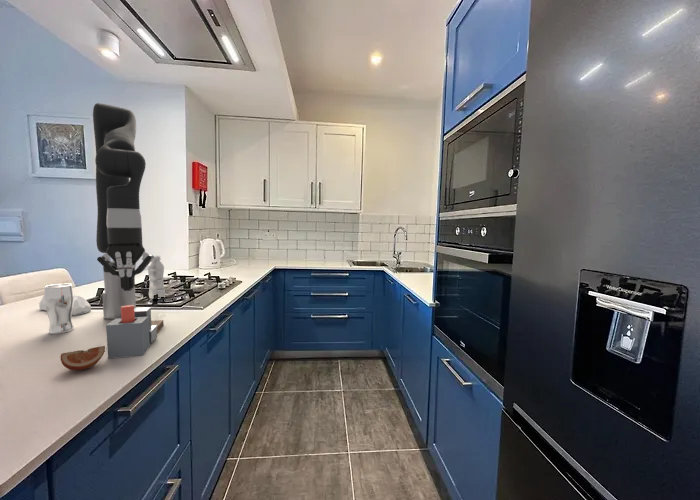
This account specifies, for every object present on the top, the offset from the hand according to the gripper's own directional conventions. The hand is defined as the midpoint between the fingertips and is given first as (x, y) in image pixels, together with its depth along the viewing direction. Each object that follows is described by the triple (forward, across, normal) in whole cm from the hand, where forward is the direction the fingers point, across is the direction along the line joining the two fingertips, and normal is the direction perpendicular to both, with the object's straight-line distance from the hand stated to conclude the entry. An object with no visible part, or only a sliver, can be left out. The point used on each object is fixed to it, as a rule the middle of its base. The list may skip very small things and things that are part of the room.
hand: (128, 290), depth 86 cm
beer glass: (+17, +27, -25) cm, 41 cm away
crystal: (+17, +38, -52) cm, 67 cm away
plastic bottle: (+17, +9, -63) cm, 66 cm away
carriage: (+17, -1, -7) cm, 19 cm away
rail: (+17, -1, -13) cm, 22 cm away
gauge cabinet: (+18, 0, 0) cm, 18 cm away
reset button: (+11, 0, 0) cm, 12 cm away
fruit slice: (+18, +8, +8) cm, 21 cm away
